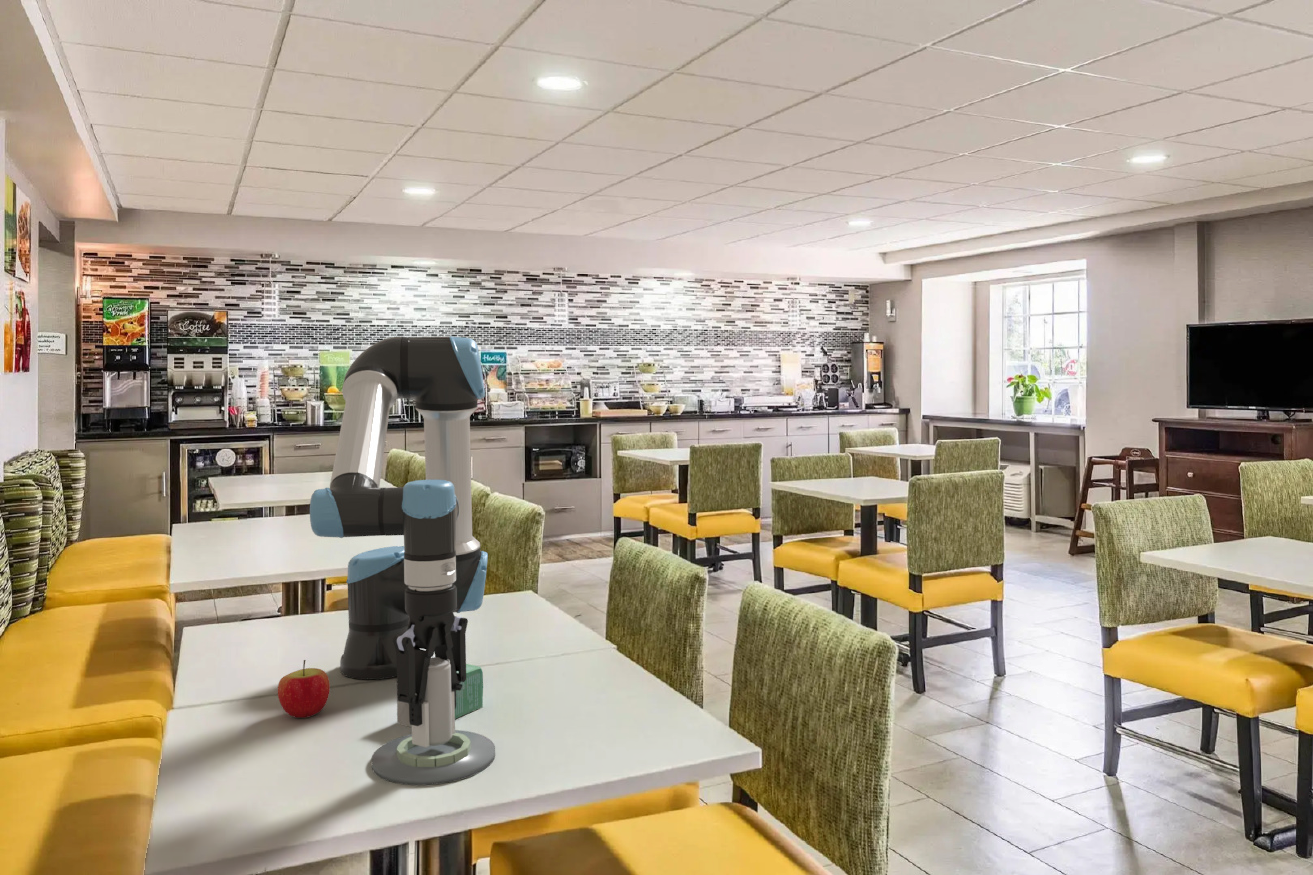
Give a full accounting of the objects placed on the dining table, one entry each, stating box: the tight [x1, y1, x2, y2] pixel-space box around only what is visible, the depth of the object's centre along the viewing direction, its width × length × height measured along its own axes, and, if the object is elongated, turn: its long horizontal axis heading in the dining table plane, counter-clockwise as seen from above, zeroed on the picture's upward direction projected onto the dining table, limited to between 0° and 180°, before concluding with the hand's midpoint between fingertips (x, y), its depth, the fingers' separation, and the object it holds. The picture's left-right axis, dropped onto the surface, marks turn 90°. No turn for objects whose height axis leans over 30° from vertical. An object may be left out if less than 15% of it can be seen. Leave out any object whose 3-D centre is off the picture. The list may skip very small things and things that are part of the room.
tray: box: [371, 729, 496, 786], centre depth 143 cm, size 18×18×2 cm
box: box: [396, 663, 484, 728], centre depth 161 cm, size 7×14×8 cm, turn 149°
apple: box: [277, 659, 331, 719], centre depth 161 cm, size 8×8×10 cm
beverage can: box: [424, 656, 452, 746], centre depth 142 cm, size 5×5×12 cm
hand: (433, 738), depth 143 cm, fingers closed on beverage can, 5 cm apart
